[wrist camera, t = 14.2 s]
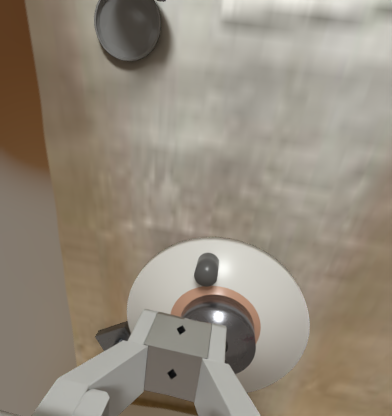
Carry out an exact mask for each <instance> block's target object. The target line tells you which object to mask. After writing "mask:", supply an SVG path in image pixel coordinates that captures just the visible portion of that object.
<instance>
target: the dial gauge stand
mask: <svg viewBox="0 0 392 416" xmlns="http://www.w3.org/2000/svg"><path fill="white" fill-rule="evenodd" d="M130 335H131V332H130V329H129V325H128V321H126V322H123V323H120V324H117V325H114V326H111V327H108V328H105V329H102V330H99V331H98V333H97V334H96V336H95V337H96V339H97V340H98V342H99V344H100V345H101V347H102V348H103V350H104V351H106V350H107V349H109V348H111V347H112V346H114V345H116V344H118V343H119V342H121V341H123V340H125V341H128V339H129V337H130Z"/></svg>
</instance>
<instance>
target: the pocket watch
mask: <svg viewBox="0 0 392 416" xmlns="http://www.w3.org/2000/svg"><path fill="white" fill-rule="evenodd" d="M157 1H163V2H164V1H166V0H157ZM94 23H95V30H96V34H97V37H98V39H99V41H100V43H101V45H102V46H103V48H104V49H105V50H106V51H107V52H108V53H109V54H111V55H112V56H114V57H116V58H118V59H120V60H122V61H136V60H139V59H141V58H144V57H145V56H146V55H148V54H149V53H150V52H151V51H152V50H153V48H154V47H155V45H156V43H157V41H158V38H159V35H160V29H161V19H160V14H159V10H158V7H157V5H156V3H155V1H154V0H99V1H98V3H97V6H96V10H95V16H94Z"/></svg>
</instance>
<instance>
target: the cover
mask: <svg viewBox="0 0 392 416" xmlns="http://www.w3.org/2000/svg"><path fill="white" fill-rule="evenodd" d="M181 317H183V318H188V319H192V320H197V321H202V322H207V323H214V324H219V325H224V326H226V328H227V331H226V348H225V363H226V364H229V365H230V367H231V368H232V370H233V372H234V373H235V374H237V373H239V372H241V371H243V370H244V369H246V368H247V367H248V366H249V365H250V363H251V362H252V360H253V358H254V356H255V351H256V342H255V331H254V323H253V319H252V317H251V315H250V313H249V312H248V310H247V309H246V308H245V307H244V306H243V305H242V304H241V303H239V302H238V301H236V300H234V299H232V298H230V297H227V296H223V295H205V296H201V297H198V298H196V299H194V300H192V301H191V302H190V303H189V304H187V305H186V307H185V308H184V310H183V311H182V314H181Z"/></svg>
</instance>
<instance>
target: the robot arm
mask: <svg viewBox="0 0 392 416" xmlns="http://www.w3.org/2000/svg"><path fill="white" fill-rule="evenodd" d="M226 331H227V328H226V326H224V325H219V324H214V323H207V322H202V321H197V320H192V319H188V318H183V317H179V316H175V315H171V314H167V313H163V312H157V311H153V310H149V309H144V310H143V311H142V313H141V315H140V317H139V319H138V321H137V323H136V325H135V327H134V329H133V331H132V333H131V335H130V337H129V339H128V341H125V340H123V341H121V342H119V343H118V344H116V345H114V346H112V347H111V348H109V349H107V350H106V351H104V352H102V353H100V354H99V355H97V356H95V357H94V358H92V359H90V360H88V361H87V362H85V363H83V364H82V365H80V366H78V367H76V368H75V369H73V370H71V371H70V372H68V373H66V374H64V375H63V376H61V377H59V378H58V379H57V380H56V382H55V383H54V385H53V386H52V387H51V389H50V390H49V392H48V393H47V394H46V396H45V397H44V399H43V400H42V402H41V403H40V404H39V406H38V407H37V409H36V410H35V411H34V413H33V414H32V416H118V415H119V414H120V413H121V412H123V411H124V409H126V408H127V407H128V406H129V405H130V404H131V403H132V402H133V401H134V400H135V399H136V398H137V397H138V396H139V395H140V394H142V393H143V390H146V391H151V392H155V393H160V394H165V395H169V396H173V397H177V398H180V399H184V400H188V401H191V402H194V405H195V408H196V410H197V413H198V416H261V415H260V414H259V412H258V410H257V409H256V407H255V406H254V404H253V402H252V401H251V399H250V397H249V396H248V394H247V393H246V391H245V389H244V388H243V386H242V385H241V383H240V381H239V380H238V378H237V376H236V375H235V373H234V372H233V370H232V368H231V367H230V365H229V364H226V363H225V348H226ZM0 416H21V415H17V414H13V413H9V412H6V411H2V410H0Z"/></svg>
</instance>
